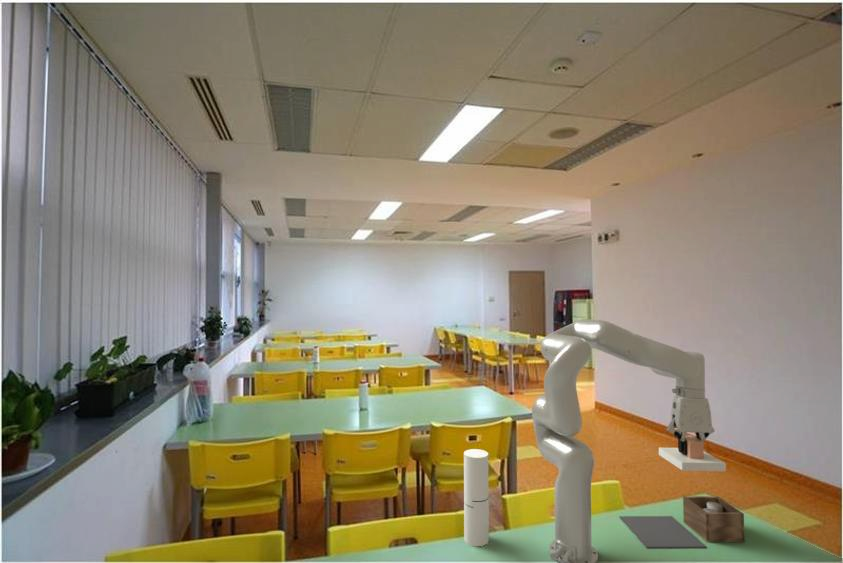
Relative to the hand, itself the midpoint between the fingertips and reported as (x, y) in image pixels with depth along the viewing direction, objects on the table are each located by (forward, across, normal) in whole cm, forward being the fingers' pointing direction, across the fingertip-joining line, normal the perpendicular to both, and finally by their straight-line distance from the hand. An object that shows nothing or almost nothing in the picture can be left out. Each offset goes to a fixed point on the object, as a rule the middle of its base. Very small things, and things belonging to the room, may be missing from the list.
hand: (690, 452), depth 133 cm
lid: (+3, 0, 0) cm, 3 cm away
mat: (+24, -9, 0) cm, 25 cm away
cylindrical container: (+25, -65, -4) cm, 70 cm away
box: (+23, +7, 0) cm, 24 cm away
